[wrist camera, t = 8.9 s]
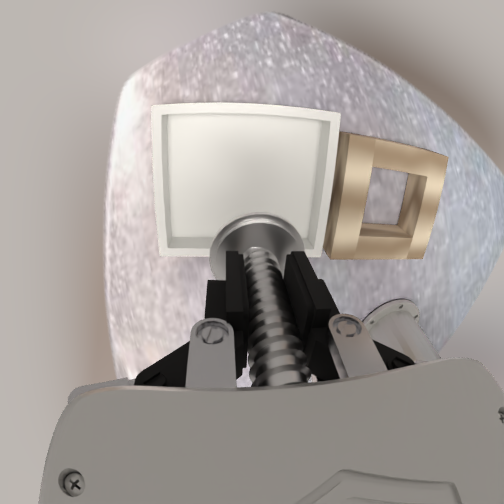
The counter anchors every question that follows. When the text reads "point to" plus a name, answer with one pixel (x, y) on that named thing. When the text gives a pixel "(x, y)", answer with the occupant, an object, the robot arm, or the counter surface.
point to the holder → (355, 195)
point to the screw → (265, 295)
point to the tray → (240, 170)
